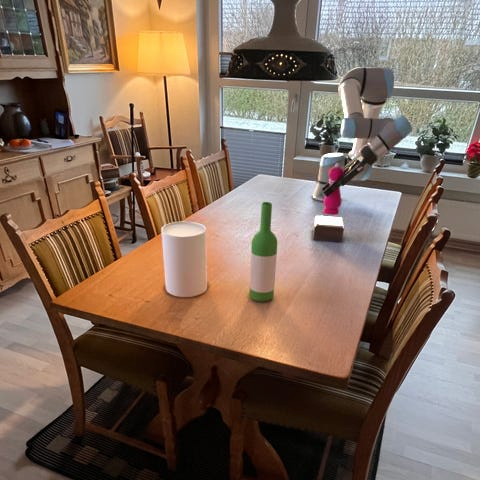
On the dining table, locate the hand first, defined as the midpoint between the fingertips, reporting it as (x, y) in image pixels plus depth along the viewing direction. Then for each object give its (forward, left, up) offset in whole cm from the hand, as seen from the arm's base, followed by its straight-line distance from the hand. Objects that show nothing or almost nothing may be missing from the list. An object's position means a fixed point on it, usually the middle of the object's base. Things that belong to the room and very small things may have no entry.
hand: (324, 192), depth 170 cm
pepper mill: (+1, +4, -8) cm, 9 cm away
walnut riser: (+1, +4, -19) cm, 19 cm away
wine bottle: (+50, -37, -19) cm, 65 cm away
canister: (+40, -60, -19) cm, 75 cm away
